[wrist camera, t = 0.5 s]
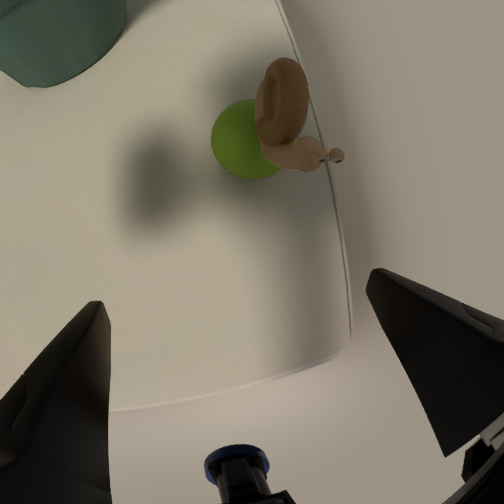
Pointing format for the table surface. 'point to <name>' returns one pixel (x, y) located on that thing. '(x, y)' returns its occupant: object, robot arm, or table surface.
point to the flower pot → (56, 37)
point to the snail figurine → (270, 128)
